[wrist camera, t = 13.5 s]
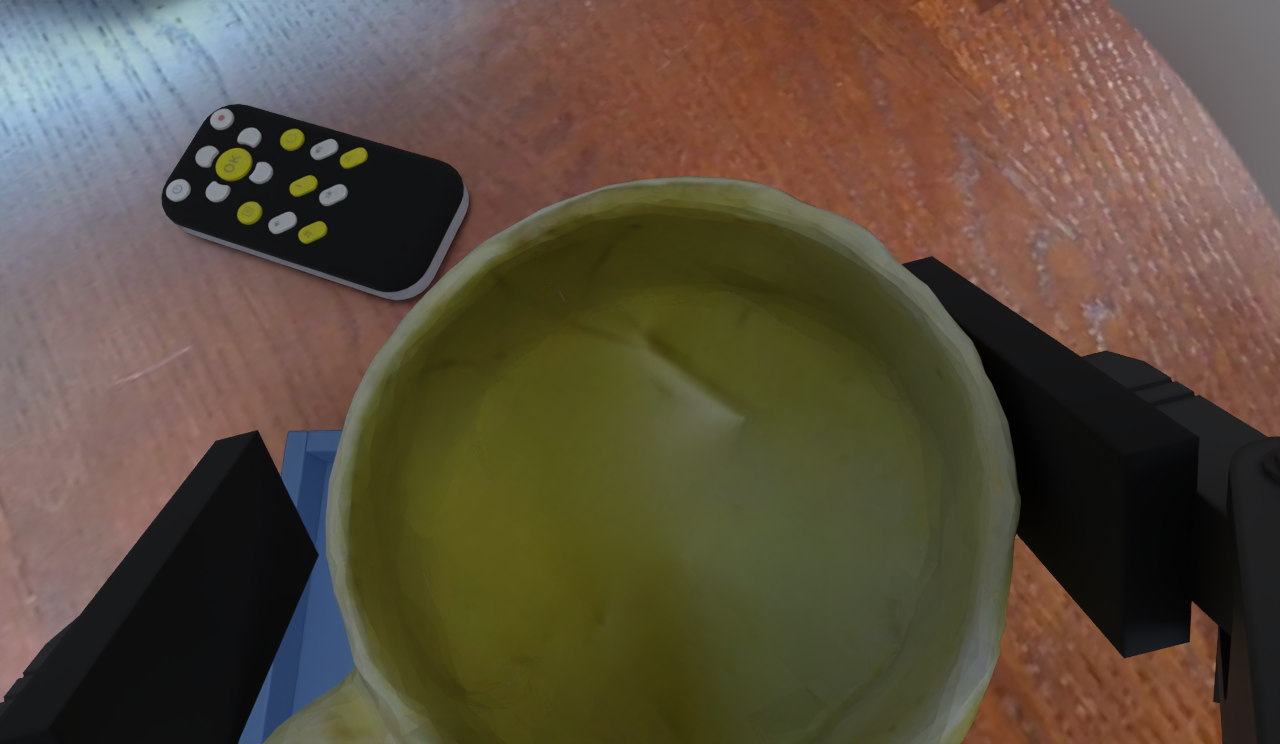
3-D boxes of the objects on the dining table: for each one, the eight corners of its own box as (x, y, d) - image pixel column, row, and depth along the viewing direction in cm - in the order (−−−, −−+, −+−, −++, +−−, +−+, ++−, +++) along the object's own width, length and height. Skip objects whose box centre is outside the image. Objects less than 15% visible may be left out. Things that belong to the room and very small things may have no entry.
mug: (773, 166, 19) (795, -32, 9) (1007, 563, 19) (1298, 810, 9) (335, 431, 21) (-52, 507, 11) (540, 803, 20) (335, 1241, 10)
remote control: (422, 314, 34) (404, 293, 32) (168, 230, 37) (138, 206, 35) (484, 188, 36) (470, 161, 34) (237, 117, 39) (212, 88, 37)
